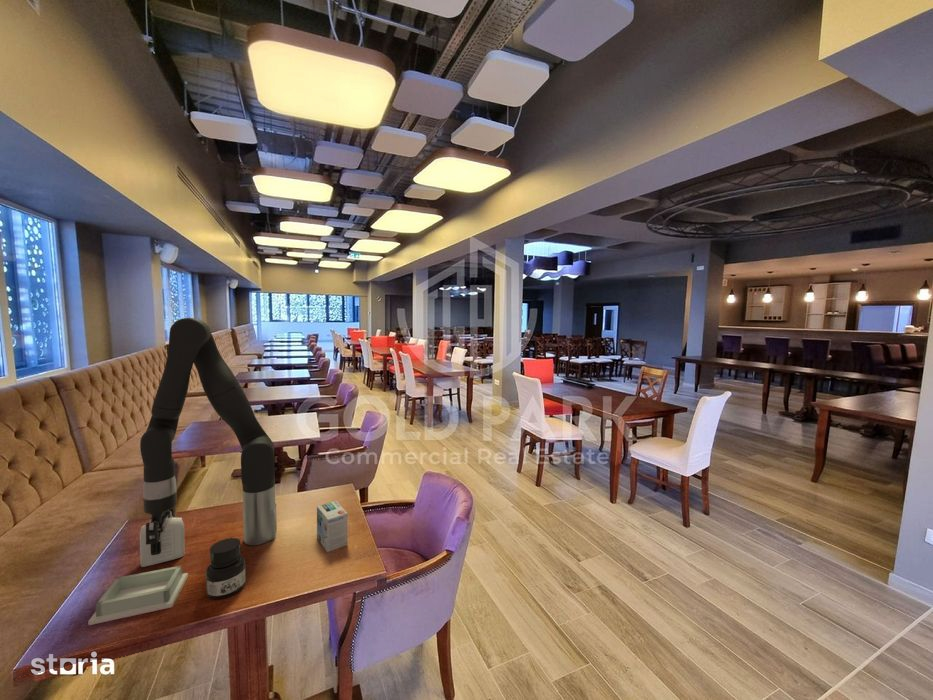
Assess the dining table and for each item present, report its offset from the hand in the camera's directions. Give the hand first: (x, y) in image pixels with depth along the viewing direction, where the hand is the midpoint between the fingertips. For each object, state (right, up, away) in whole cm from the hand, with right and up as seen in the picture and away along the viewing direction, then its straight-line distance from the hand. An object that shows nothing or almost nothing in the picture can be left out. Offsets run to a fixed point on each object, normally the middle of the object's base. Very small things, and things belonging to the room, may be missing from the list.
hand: (161, 545), depth 110 cm
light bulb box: (+46, -5, +11) cm, 48 cm away
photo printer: (0, -5, 0) cm, 5 cm away
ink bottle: (+26, -6, -11) cm, 29 cm away
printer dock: (+7, -6, -15) cm, 18 cm away
